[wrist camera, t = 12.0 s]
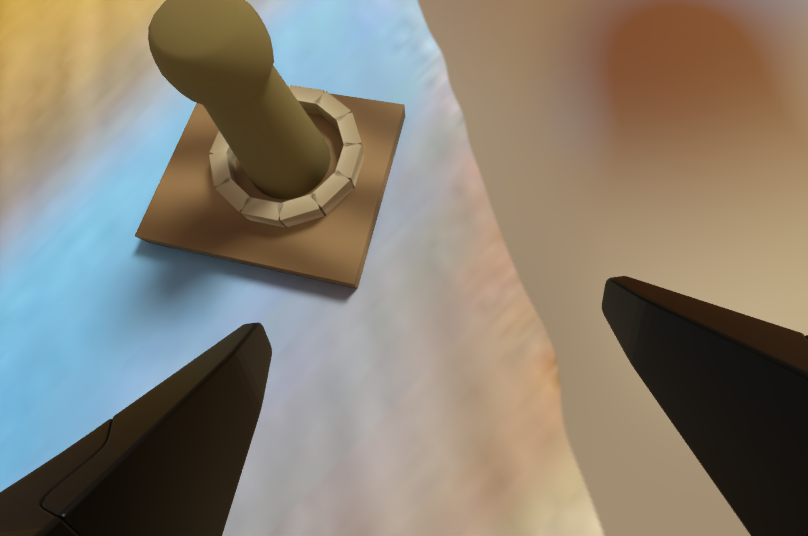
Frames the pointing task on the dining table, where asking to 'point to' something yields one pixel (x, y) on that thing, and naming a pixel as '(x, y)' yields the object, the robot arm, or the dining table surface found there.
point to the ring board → (281, 218)
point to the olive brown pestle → (240, 91)
